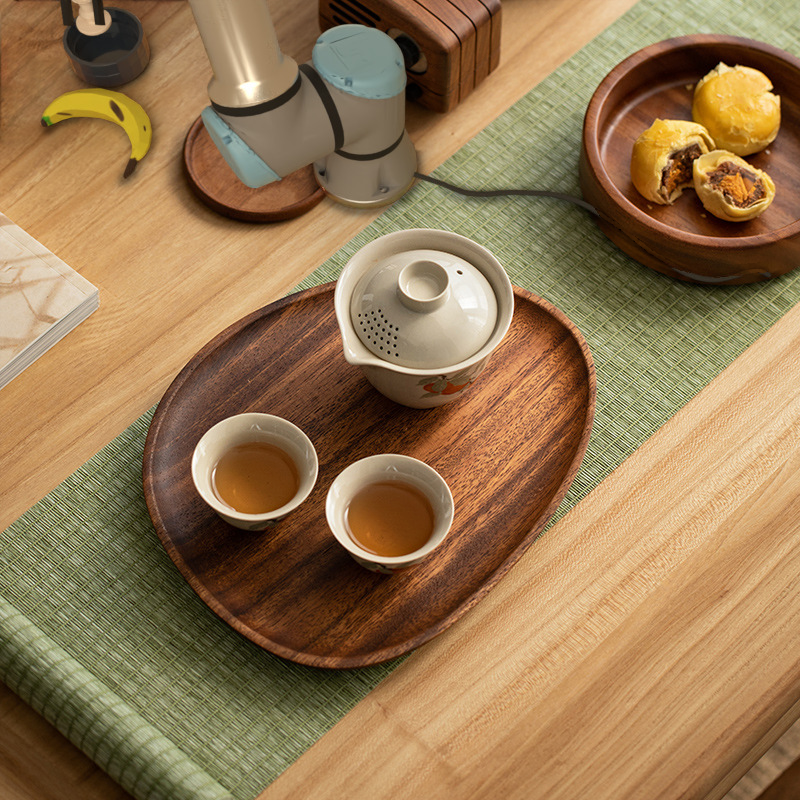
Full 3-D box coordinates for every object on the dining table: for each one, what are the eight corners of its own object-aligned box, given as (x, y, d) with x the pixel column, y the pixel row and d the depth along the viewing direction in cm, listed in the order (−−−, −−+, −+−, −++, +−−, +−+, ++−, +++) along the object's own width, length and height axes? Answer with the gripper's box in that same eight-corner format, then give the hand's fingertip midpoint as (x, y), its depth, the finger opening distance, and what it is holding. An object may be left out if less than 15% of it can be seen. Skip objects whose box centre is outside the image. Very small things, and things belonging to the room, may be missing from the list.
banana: (39, 81, 138) (25, 170, 134) (151, 79, 137) (141, 169, 133) (52, 99, 143) (39, 186, 139) (161, 97, 141) (151, 185, 137)
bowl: (163, 42, 147) (156, 17, 143) (130, 98, 142) (121, 74, 138) (94, 24, 149) (85, -2, 144) (59, 78, 144) (48, 54, 139)
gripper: (130, -154, 130) (148, 25, 138) (10, -152, 130) (35, 27, 138) (115, -166, 123) (136, 23, 131) (-12, -164, 123) (16, 25, 131)
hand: (84, 25), depth 134 cm, fingers closed on candle, 4 cm apart
